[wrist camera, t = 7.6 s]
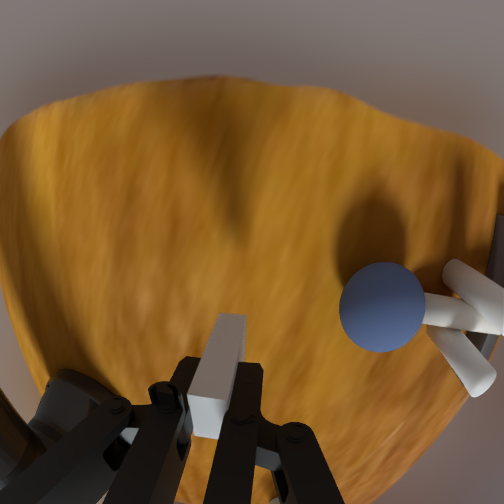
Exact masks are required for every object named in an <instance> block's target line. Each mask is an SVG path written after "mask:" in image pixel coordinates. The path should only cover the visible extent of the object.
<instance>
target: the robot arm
mask: <svg viewBox="0 0 504 504" xmlns="http://www.w3.org/2000/svg"><path fill="white" fill-rule="evenodd" d="M245 340H246V315H239V314H227V313H219V315H218V318H217V320H216V323H215V325H214V328H213V330H212V333H211V335H210V338H209V340H208V343H207V345H206V348H205V350H204V353H203V355H202V358H197V357H189V356H186V357H185V358H183V359H182V360H181V361H180V362H179V363H178V365H177V367H176V370H175V371H174V373H173V376H172V377H171V379H170V382H168V381H162V382H157V383H155V384H153V385H151V386H150V387H149V388H148V392H149V395H150V399H151V402H152V404H149V405H131V403H130V401H129V400H128V399H126V398H124V397H121V396H114V395H113V394H112V393H110V392H109V391H108V390H107V389H105V388H104V387H103V386H101V385H100V384H98V383H97V382H95V381H94V380H92V379H90V378H89V377H87V376H85V375H83V374H81V373H78V372H76V371H72V370H68V369H62V370H59V371H57V372H56V373H55V374H54V375H53V376H52V377H51V378H50V379H49V381H48V382H47V385H46V388H45V390H46V391H45V393H44V395H43V396H42V399H41V401H40V403H39V406H38V409H37V412H36V414H35V416H34V417H33V418H32V420H31V421H30V422H29V423H28V424H27V423H26V422H25V421H24V420H23V418H22V417H21V416H20V415H19V413H18V412H17V411H16V410H15V408H14V407H13V405H12V404H11V402H10V401H9V400H8V398H7V397H6V395H5V394H4V392H3V391H2V389H1V388H0V504H96V503H97V502H98V501H99V500H100V499H101V498H102V496H103V495H104V494H105V493H106V492H107V491H108V490H109V491H108V493H107V495H106V497H105V499H104V501H103V503H102V504H173V502H174V499H175V496H176V493H177V490H178V486H179V483H180V480H181V477H182V473H183V470H184V467H185V464H186V460H187V457H188V454H189V451H190V447H191V438H190V437H191V434H192V431H193V432H194V435H195V436H200V437H206V438H213V439H218V442H217V447H216V451H215V455H214V459H213V464H212V468H211V472H210V476H209V480H208V485H207V489H206V493H205V497H204V501H203V504H251V495H252V486H253V478H254V468H255V465H257V466H260V467H263V468H266V469H269V470H271V473H272V477H273V480H274V484H275V488H276V491H277V495H278V498H279V502H280V504H345V503H344V501H343V498H342V496H341V494H340V492H339V489H338V487H337V485H336V483H335V480H334V478H333V476H332V474H331V471H330V469H329V467H328V464H327V462H326V460H325V458H324V455H323V453H322V451H321V448H320V446H319V444H318V441H317V439H316V437H315V434H314V432H313V431H312V429H311V428H310V427H309V426H307V425H306V424H303V423H300V422H290V423H287V424H284V425H283V426H280V425H276V424H273V423H271V422H269V421H267V420H266V419H265V418H264V417H263V416H262V414H261V410H260V407H261V395H262V383H263V369H262V367H261V365H260V363H248V362H244V357H245Z"/></svg>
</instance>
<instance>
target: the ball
mask: <svg viewBox="0 0 504 504" xmlns="http://www.w3.org/2000/svg"><path fill="white" fill-rule="evenodd" d="M425 308H426V303H425V295H424V291H423V288H422V286H421V284H420V282H419V280H418V279H417V278H416V276H415V275H414V274H413V273H412V272H411V271H409V270H408V269H407V268H405V267H403V266H402V265H399V264H396V263H392V262H377V263H373V264H370V265H367V266H365V267H363V268H362V269H360V270H359V271H357V272H356V273H355V274H354V275H353V276H352V277H351V278H350V280H349V281H348V282H347V284H346V285H345V287H344V289H343V292H342V295H341V299H340V305H339V313H340V319H341V323H342V326H343V328H344V330H345V332H346V334H347V335H348V337H349V338H350V339H351V340H352V341H353V342H354V343H355V344H357V345H358V346H360V347H362V348H364V349H366V350H369V351H373V352H388V351H392V350H395V349H397V348H400V347H402V346H403V345H405V344H406V343H407V342H409V341H410V340H411V339H412V338H413V337H414V336H415V334H416V333H417V332H418V330H419V328H420V326H421V324H422V322H423V319H424V315H425Z"/></svg>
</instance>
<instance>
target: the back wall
mask: <svg viewBox="0 0 504 504" xmlns="http://www.w3.org/2000/svg"><path fill="white" fill-rule="evenodd" d="M486 277H487V278H489V279H490V280H492V281H493V282H495V283H496V284H498V285H499V286H501V287H502V288H504V216H502V215H498V214H497V218H496V225H495V232H494V238H493V244H492V249H491V254H490V259H489V263H488V267H487V272H486ZM466 337H467V338H468V339H469V340H470V341H471V343H472V344H473V345H474V346H475V347H476V348H477V349H478V351H479V352H480V353H481V354H482V355H483V356H484V358H485V359H486V360H487V361H488V359H489V357H490V355H491V353H492V351H493V349H494V346H495V344H496V342H497V339H498V337H499V335H496V334H488V333H481V332H474V331H468V332H467V335H466ZM452 370H453V368H452ZM453 371H454V370H453ZM454 373H455V374H456V372H455V371H454ZM456 375H457V374H456ZM457 377H458V375H457ZM458 378H459V377H458ZM459 380H460V378H459ZM460 381H461V380H460ZM461 383H462V381H461ZM462 384H463V383H462ZM463 386H464V384H463Z"/></svg>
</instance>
